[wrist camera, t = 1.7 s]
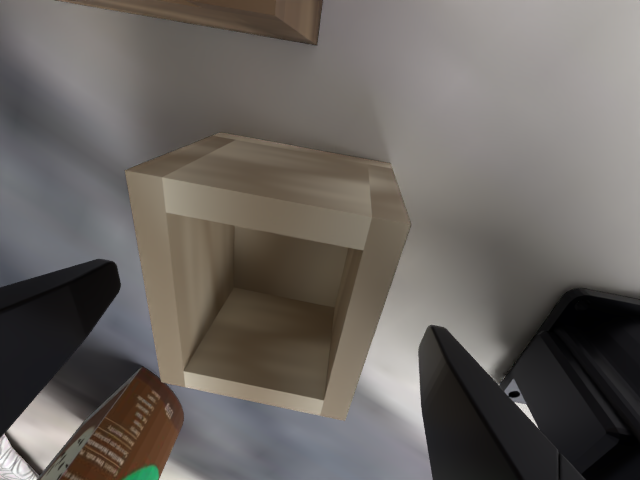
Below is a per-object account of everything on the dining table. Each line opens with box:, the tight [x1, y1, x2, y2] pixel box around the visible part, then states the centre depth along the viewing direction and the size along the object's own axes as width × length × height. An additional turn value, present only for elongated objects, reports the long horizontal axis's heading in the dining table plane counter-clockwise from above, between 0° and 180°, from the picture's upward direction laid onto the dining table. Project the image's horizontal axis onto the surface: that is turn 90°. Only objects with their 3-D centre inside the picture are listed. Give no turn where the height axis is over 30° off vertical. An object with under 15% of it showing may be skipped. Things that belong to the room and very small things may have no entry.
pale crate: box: [125, 132, 411, 421], centre depth 10 cm, size 6×7×5 cm
